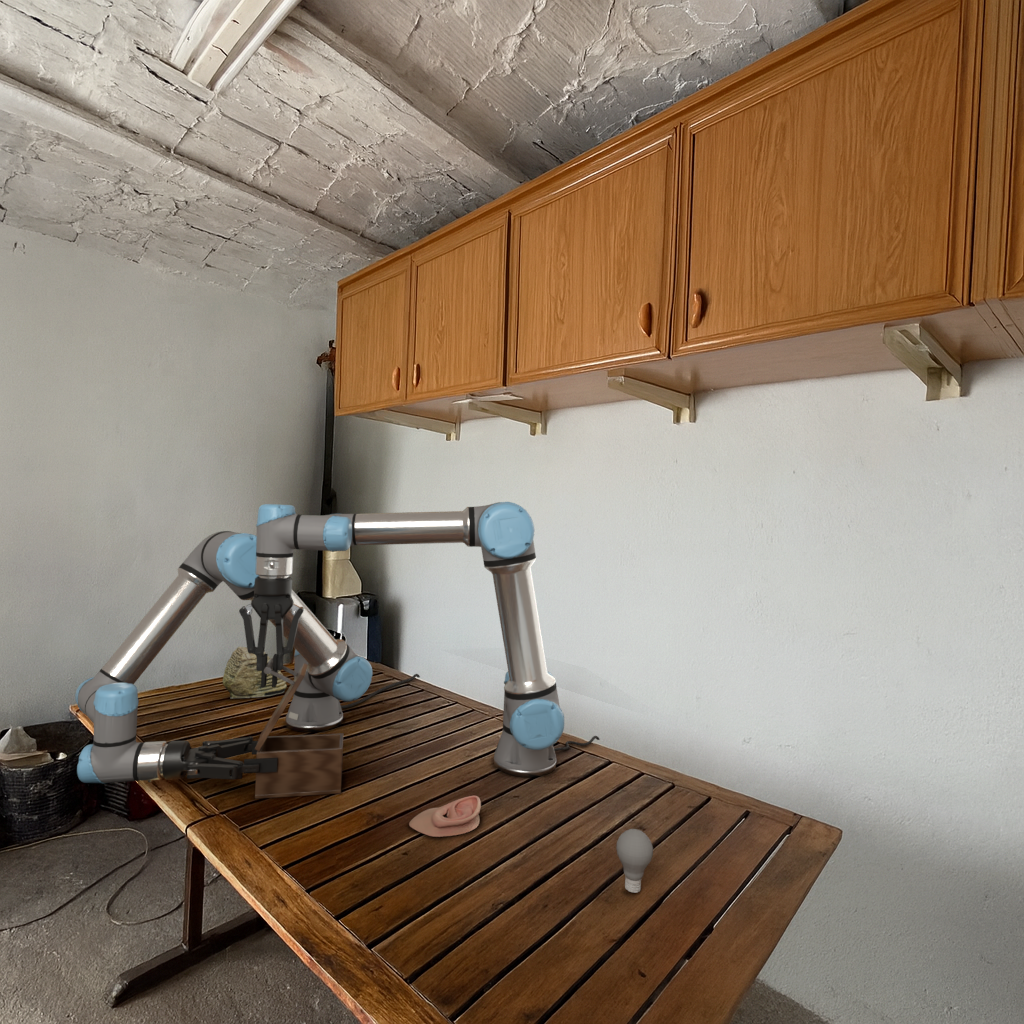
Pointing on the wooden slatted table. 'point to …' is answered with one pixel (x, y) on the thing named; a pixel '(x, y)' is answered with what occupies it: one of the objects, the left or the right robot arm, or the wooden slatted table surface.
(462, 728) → the wooden slatted table surface
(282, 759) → the chest
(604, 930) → the wooden slatted table surface
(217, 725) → the wooden slatted table surface
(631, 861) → the light bulb
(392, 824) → the wooden slatted table surface
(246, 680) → the fossil
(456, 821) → the anatomical model
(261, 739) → the lid
